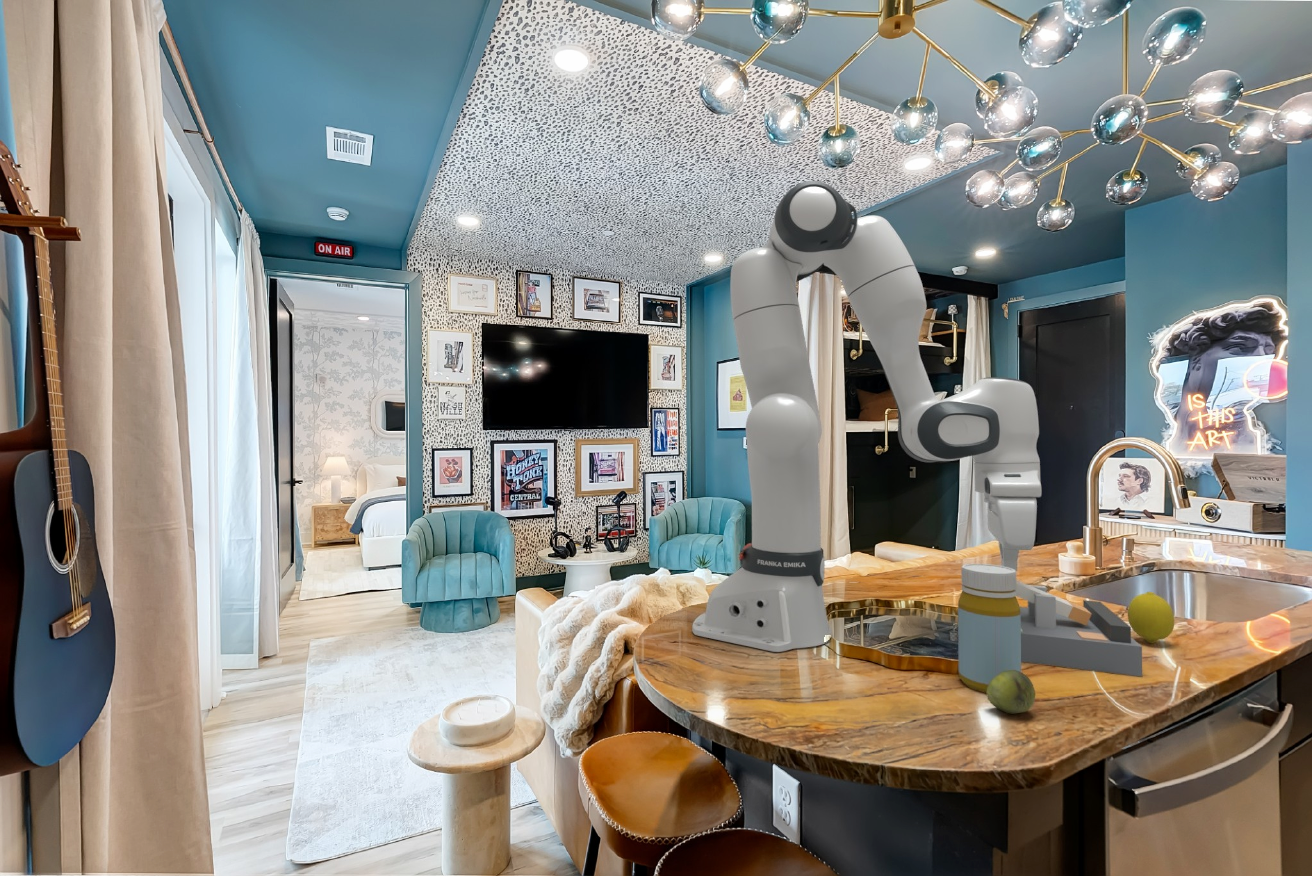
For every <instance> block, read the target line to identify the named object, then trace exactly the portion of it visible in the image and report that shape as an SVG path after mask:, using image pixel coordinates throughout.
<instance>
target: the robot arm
mask: <svg viewBox="0 0 1312 876" xmlns="http://www.w3.org/2000/svg"><path fill="white" fill-rule="evenodd" d="M774 214H775V215H774V217H773V221H772V223H771V227H770V231H769V236H768V239H767V243H766V244H764V245H763V246H760V247H757V248H756V247H755V248H752V249H749V250H747V251H745V252H744V253H742V254H740V255H739V256H738V257H737V258H735V260H734V262H733V264H732V266H731V270H730V283H729V284H730V285H729V286H730V292H729V293H730V304H731V305H730V306H731V314H732V321H733V328H734V333H735V339H736V345H737V352H738V358H739V364H740V369H741V372H742V375H743V378H744V381H745V382H744V383H745V386H746V389H747V390H746V391H747V394H748V397H749V398H748V399H749V401H750V406H751V409H750V412H749V413H748V416H747V418H746V422H745V437H746V439H745V440H746V453H747V454H746V455H747V466H748V475H749V476H748V477H749V486H750V494H751V543H747V544H746V545H744V547H743V549H742V550H740V553H738V556H739V557H738V561H739V562H740V565H741V567H740V568H738V570H736V571H735V572H734V573H732V574H731V575H729V576H728V577H726V578H725V579H724V580H723V581H721V582H720V583H719V584H718V585H716V586H715V587H714V588H713V589H712V590H711V592H710V593H709V596H708V599H707V602H706V610H705V612H703V613H701V614H700V615H699V616H697V617H696V618H695V620H694V621H693V622H692V627H691V629H692V633H693V634H694V635H695V636H698V637H702V638H707V639H708V638H709V639H712V640H718V641H722V642H727V643H732V644H736V645H740V646H745V647H750V648H755V649H760V650H764V651H768V652H774V653H775V652H776V653H780V652H785V651H789V650H792V649H793V650H794V649H801V648H812V647H817V646H821V645H824V644H826V643H825V642H824V637H825V635H832V631H831V629H830V624H829V621H828V616H827V611H826V605H825V597H824V589H823V584H824V581H825V569H826V568H825V566H826V565H825V556H824V549H823V547H822V545H821V544H822V543H821V541H822V540H821V538H822V535H821V533H822V531H821V517H822V516H821V512H822V511H821V489H820V488H821V486H820V485H821V484H820V461H819V460H820V459H819V458H820V455H819V452H820V451H819V450H820V449H819V444H820V440H821V437H822V431H823V430H822V428H823V427H822V422H821V418H820V417H821V415H820V412H819V406H818V405H819V404H818V401H817V396H816V390H815V386H814V381H813V380H814V379H813V375H812V370H811V364H810V359H809V354H808V350H807V344H806V343H807V342H806V337H805V331H804V326H803V319H802V313H801V309H800V308H801V307H800V303H799V298H798V293H797V283H799V282H800V281H802V280H804V279H806V278H808V277H811V276H812V275H814V274H815V273H817V272H818V271H819V270H820V269H822V268H823V266H824V267H827V268H829V270H831V271H832V272H834V273H835V275H836V276H837V277H838V278H839V281H841V283H842V286H843V290H844V292H845V294H846V297H847V299H848V302H849V304H850V307H851V308H852V311H853V313H854V314H855V316H856V318H857V320H858V322H859V323H860V326H861V327H862V329H863V331H864V332H865V335H866V337H867V338H868V340H869V341H870V344H871V345H872V348H873V349H874V351H875V353H876V355H877V357H878V360H879V362H880V365H881V367H882V370H883V372H884V375H885V378H886V380H887V383H888V385H889V388H890V391H891V394H892V396H893V399H894V401H895V404H896V408H897V415H898V417H897V418H898V421H897V437H898V438H897V439H898V442H899V444H900V446H901V448H902V449H903V451H904V452H905V453H906V454H907V455H908V456H909V457H911V458H913V459H914V460H915V461H916V460H917V461H920V462H922V463H923V462H924V463H936V462H951V461H952V462H953V461H958V460H961V459H964V458H967V457H973V462H974V463H973V466H974V468H973V470H974V491H975V492H976V493H982V494H983V497H984V498H983V502H984V503H986V504H987V509H986V511H987V513H986V514H987V515H986V516H987V529H988V531H989V532H990V533H991V534H992V536H993V537H994V538H995V539H996V540H997V541H998V548H999V555H1000V563H1001V564H1000V566H1004V567H1008V568H1012V569H1014V570H1015V571H1016V572H1017V571H1018V558H1019V553H1020V551H1032V550H1033V548H1034V545H1035V540H1036V530H1037V513H1038V512H1037V511H1038V509H1037V508H1038V505H1037V503H1038V501H1037V498H1041V497H1042V494H1043V493H1042V484H1041V465H1040V464H1041V461H1040V460H1041V459H1040V457H1039V454H1038V450H1037V443H1038V438H1039V435H1040V426H1039V415H1038V414H1039V412H1038V405H1037V398H1036V396H1035V392H1034V389H1033V387H1032V386H1031V385H1030V384H1029V383H1027V382H1026V381H1023V380H1021V379H1017V378H1013V377H1004V376H1003V377H1002V376H999V377H998V376H997V377H996V376H995V377H994V376H991V377H983V378H980V379H978V380H977V382H975V383H974V384H972V385H970V386H969V387H967V388H966V389H964V390H962V391H960V392H958V393H956V394H954V395H951V396H949V397H946V398H943V399H940V400H939V399H938V398H937V396H936V394H935V393H934V390H933V387H932V385H931V382H930V380H929V376H928V373H927V371H926V368H925V366H924V363H923V361H922V358H921V354H920V353H921V352H920V347H919V346H920V345H919V342H920V341H919V339H920V334H921V333H920V332H921V329H922V325H923V323H924V318H925V316H926V312H927V300H926V295H925V294H926V293H925V290H924V287H923V283H922V282H923V281H922V280H921V277H920V273H918V270H917V268H916V264H915V263H914V261H913V259H912V257H911V255H910V253H909V251H908V249H907V247H906V246H905V244H904V242H903V241H902V239H901V237H900V236H899V235H898V233H897V232H896V230H895V229H894V227H893V226H892V225H891V224H890V222H889V221H888V220H887V218H884V217H882V216H880V215H865V216H862V217H859V218H858V212H857V210H856V208H855V206H853V205H852V203H850V202H848V201H847V200H846V199H844V198H843V196H842V194H841V193H839V192H838V191H837V190H836V189H835V188H834V187H833V186H832V185H829V184H827V183H826V182H823V181H819V180H807V181H803V182H800V183H798V184H795V186H793V187H792V188H790V190H788V191H787V192H786V193H785V194H784V195H783V197H781V200H780V201H779V203H778V204H777V207H776V211H775V213H774ZM853 216H854V218H853ZM832 636H833V635H832Z"/></svg>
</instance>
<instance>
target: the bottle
mask: <svg viewBox="0 0 1312 876" xmlns="http://www.w3.org/2000/svg"><path fill="white" fill-rule="evenodd" d="M960 570H961V576H960V577H961V578H960V579H961V590H962V591H961V593H960V596H959V598H958V605H957V621H958V623H957V625H958V626H957V629H958V631H957V634H958V635H957V637H958V644H957V645H958V677H959V678H960V680H961V681H962V682H963V684H965V685H966V686H967V687H968V688H970V689H972V690H975V691H979V692H982V693H985V694H987V693H986V690H987V687H988V685H989V683H990V681H991V680H992V679H993V678H994V677H995V676H997V675H998V674H1000V673H1001V672H1003V671H1008V670H1017V671H1020V672H1022V662H1021V613H1020V607H1021V606H1020V605H1019V604H1020V603H1019V601H1018V599H1017V598H1018V597H1017V596H1016V580H1017V571H1015V570H1014V569H1012V568H1008V567H1004V566H1001V565H997V564H988V563H967V564H963V565H962V566H961V569H960Z"/></svg>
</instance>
